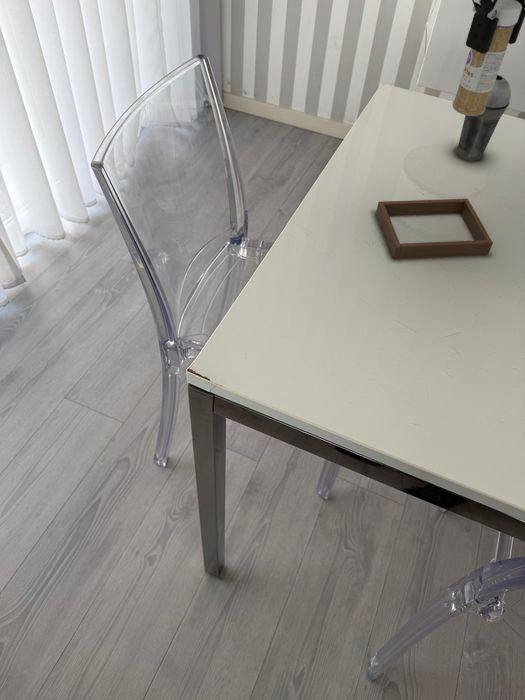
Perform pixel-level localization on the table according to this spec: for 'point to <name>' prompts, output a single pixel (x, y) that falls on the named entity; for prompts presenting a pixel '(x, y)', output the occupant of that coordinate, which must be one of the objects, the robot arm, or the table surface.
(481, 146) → the beverage cup
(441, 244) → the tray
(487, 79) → the sprinkles bottle
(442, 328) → the table surface
